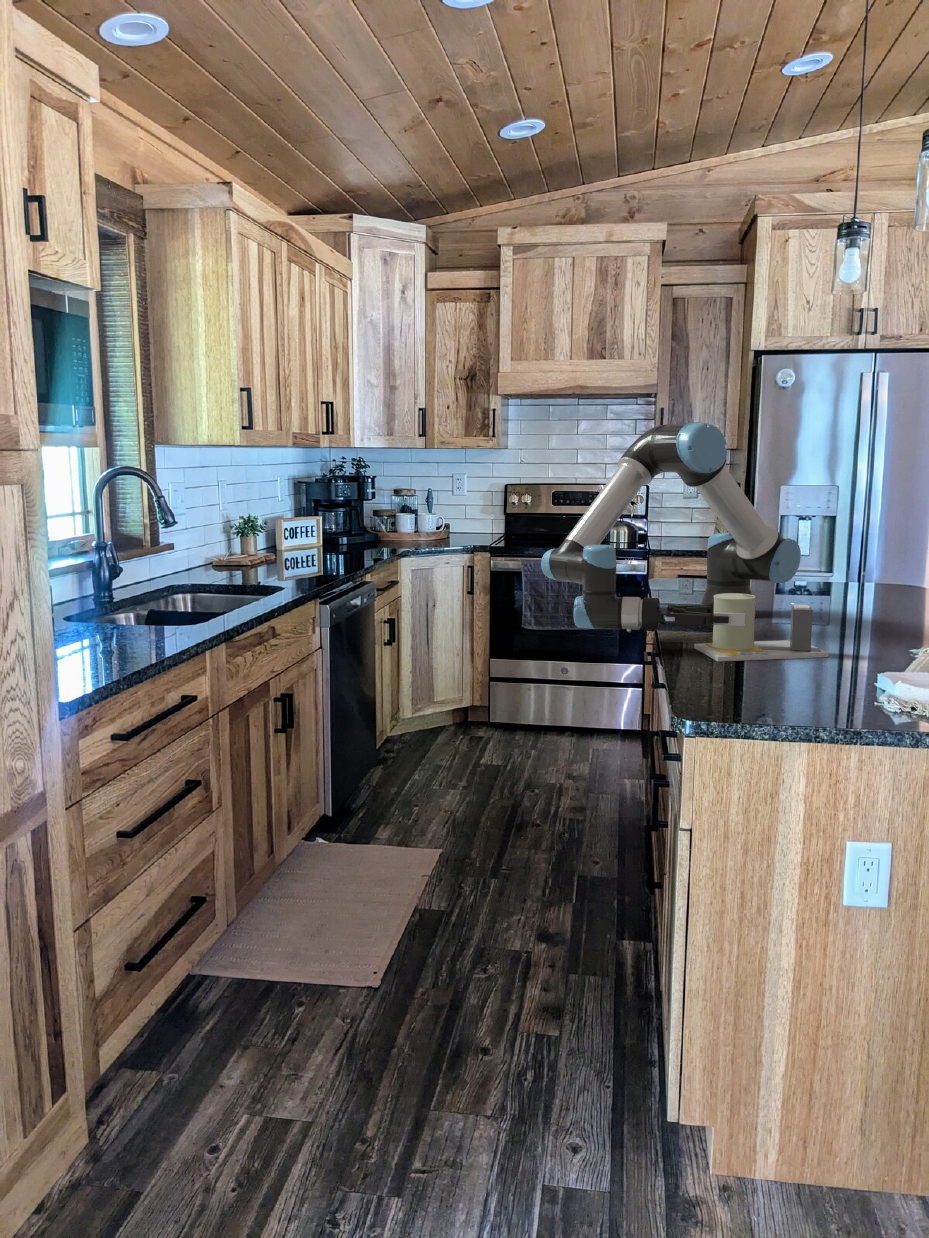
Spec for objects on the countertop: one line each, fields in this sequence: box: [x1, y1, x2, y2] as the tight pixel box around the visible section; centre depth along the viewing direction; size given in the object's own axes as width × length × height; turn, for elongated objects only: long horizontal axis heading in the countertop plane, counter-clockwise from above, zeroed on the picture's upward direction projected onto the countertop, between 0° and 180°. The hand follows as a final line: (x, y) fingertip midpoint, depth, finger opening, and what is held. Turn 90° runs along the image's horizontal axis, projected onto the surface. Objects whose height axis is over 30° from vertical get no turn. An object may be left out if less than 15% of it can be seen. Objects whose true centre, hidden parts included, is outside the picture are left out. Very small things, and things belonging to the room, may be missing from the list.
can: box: [711, 593, 757, 651], centre depth 213 cm, size 9×9×12 cm
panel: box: [694, 639, 830, 662], centre depth 213 cm, size 25×15×1 cm, turn 96°
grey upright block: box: [789, 604, 814, 651], centre depth 209 cm, size 4×5×9 cm
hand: (743, 616), depth 212 cm, fingers closed on can, 9 cm apart
